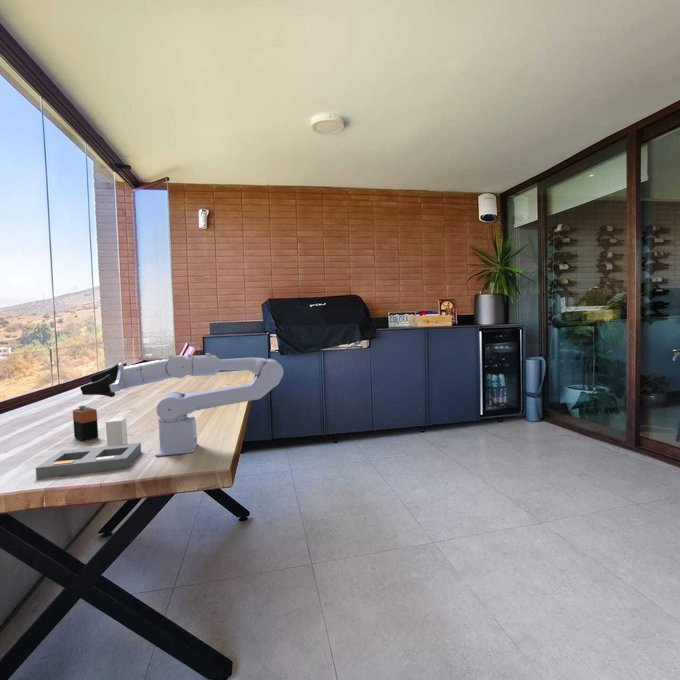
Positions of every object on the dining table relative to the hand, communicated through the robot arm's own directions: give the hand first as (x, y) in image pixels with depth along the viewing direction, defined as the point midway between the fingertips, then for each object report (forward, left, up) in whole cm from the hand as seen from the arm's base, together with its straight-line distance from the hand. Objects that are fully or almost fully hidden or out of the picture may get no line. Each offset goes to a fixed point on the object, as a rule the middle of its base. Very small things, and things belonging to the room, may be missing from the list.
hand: (87, 385), depth 94 cm
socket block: (-2, +3, -20) cm, 20 cm away
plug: (-3, -10, -20) cm, 22 cm away
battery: (+10, -23, -20) cm, 32 cm away
